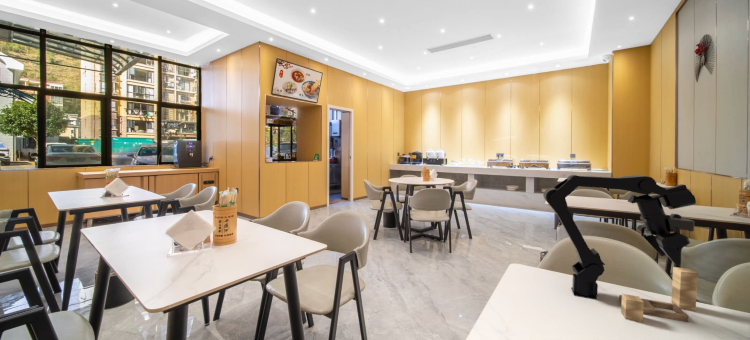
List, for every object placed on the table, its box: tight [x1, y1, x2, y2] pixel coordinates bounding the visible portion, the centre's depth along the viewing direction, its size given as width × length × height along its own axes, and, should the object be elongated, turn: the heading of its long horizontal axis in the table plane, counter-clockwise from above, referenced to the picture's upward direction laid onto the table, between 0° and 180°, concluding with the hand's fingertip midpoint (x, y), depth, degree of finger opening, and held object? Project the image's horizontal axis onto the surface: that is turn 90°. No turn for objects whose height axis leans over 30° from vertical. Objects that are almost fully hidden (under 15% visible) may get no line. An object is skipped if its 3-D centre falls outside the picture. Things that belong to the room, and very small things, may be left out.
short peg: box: [620, 293, 644, 323], centre depth 89 cm, size 4×4×6 cm
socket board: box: [619, 294, 689, 322], centre depth 93 cm, size 14×8×2 cm, turn 64°
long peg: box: [670, 266, 698, 312], centre depth 94 cm, size 4×4×12 cm
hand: (670, 260), depth 94 cm, fingers open, 9 cm apart
